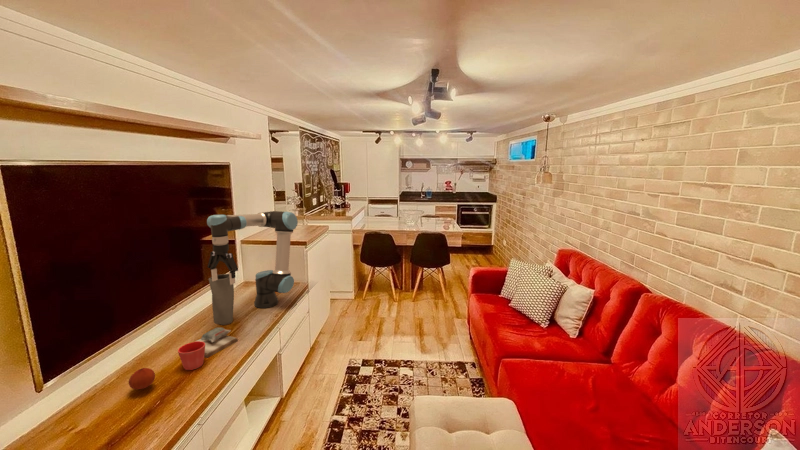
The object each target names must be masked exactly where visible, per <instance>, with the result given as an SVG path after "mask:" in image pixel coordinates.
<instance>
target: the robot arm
mask: <svg viewBox="0 0 800 450" xmlns="http://www.w3.org/2000/svg"><path fill="white" fill-rule="evenodd" d="M206 225H207V226H208V227H209V228H210V232H211V242H212V251H210V253H209V254H210V257H209V259H208V263H207V265H206V266H207V269H208V268H209V269H210V275H211V277H212V281H216V280H218V278H217V275H218V269H217V267H218V266H217V265H218V264H219V262H222V263H224V264H225V266H226V267H227V269H228V270H229V271H228V272H229V273H228V274H229V276H230V285H232V284H234V285H235V284H236V282H237V281H236V278H237V277H236V272H238V271H239V268H238V266H237V263H236V261H235V259H234V256H233V253H232V252H231V253H229V250H230V247H229V246H230V245H229V233H228V232H233V231H240V230H243V229H245V228H246V227H259V228H263V227H264V228H272V229H274V232H275V233H276V246H275V249H276V250H275V266H274V270H273V269H267V270H261V271H260V272H256V274H255V279H254V280H255V290H256V294H255V300H254V307H255V308H257V309H267V308H271V307H275V306H276V305H278V303H279V298H278V297H277V294H276V293H280V294H286V293H289V292H290V291H291V290H292V289H293V288H294V284H295V279H294V277H293V276H292V272H291V271H290V270H289V269H290V267H289V266H290V253H291V238H292V237H291V235H292V234H293V233H294V230H295V229H296V228H297V227H298V218H297V215H296V214H295V213H294V212H291V211H278V210H273V211H262V212H258V213H256V214H253V213H251V214H227V215H226V214H213V215H210V216H208V218H207V219H206Z"/></svg>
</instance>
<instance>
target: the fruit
mask: <svg viewBox="0 0 800 450" xmlns="http://www.w3.org/2000/svg"><path fill="white" fill-rule="evenodd" d="M155 373H156V372H155V371H154V370H153V369H151V368H148V367H142V368H140V369H138V370H135V372H133V374H131V375H130V377H129V379H128V386H129V387H130V388H131V389H133V390H143V389H146V388H148V387H149V386H151V385H152V384H153V383H154V381H155V379H156V374H155Z"/></svg>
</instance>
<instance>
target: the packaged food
mask: <svg viewBox="0 0 800 450" xmlns="http://www.w3.org/2000/svg"><path fill="white" fill-rule="evenodd" d="M231 331H232V330H231V329H225V328H224V327H215V328H213V329H211V330H209V331H207V332H205V333H203V334H202V335H201V338H200V339H201V340H209V341H211V342H214V341H216V340H218V339H219V338H221V337H223V336H225V335H228V334H229V333H230V332H231Z"/></svg>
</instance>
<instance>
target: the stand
mask: <svg viewBox="0 0 800 450" xmlns="http://www.w3.org/2000/svg"><path fill="white" fill-rule="evenodd" d="M197 341H201V342H204V343H205V353H204V358H210V357H212V356H213V355H215V354H217V353H219V352H221V351H222V350H224V349H226V348H228V347H230V346H231V345H233V344H235V343H237V342H238V338H237V337H234V336H231V335H228V334H226V335H225V336H223V337H221V338H219V339H218V340H216V341H214V342H211V341H209V340H201V338H200V339H197V340H195V341H194V342H197Z"/></svg>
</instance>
